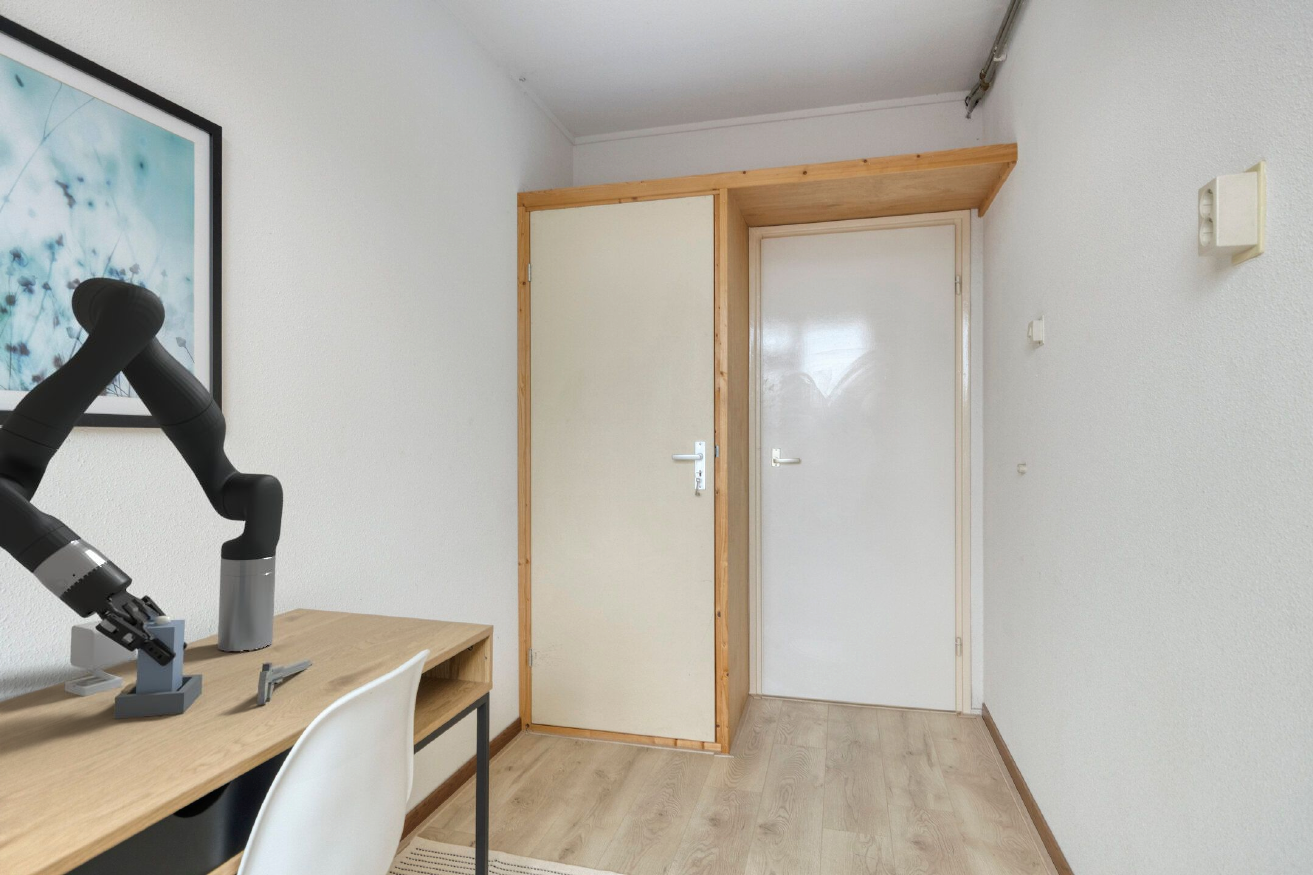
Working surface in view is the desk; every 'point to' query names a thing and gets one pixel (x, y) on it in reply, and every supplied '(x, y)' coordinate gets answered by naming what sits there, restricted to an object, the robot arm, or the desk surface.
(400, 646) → the desk surface
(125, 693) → the pocket plate
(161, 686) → the blue gray block
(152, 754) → the desk surface
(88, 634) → the security camera
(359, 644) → the desk surface
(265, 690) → the caliper
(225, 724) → the desk surface
